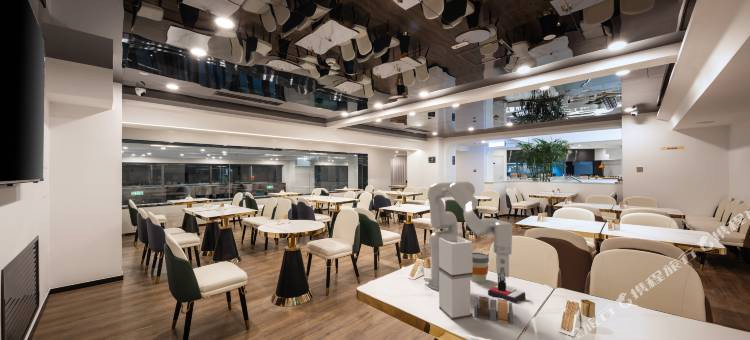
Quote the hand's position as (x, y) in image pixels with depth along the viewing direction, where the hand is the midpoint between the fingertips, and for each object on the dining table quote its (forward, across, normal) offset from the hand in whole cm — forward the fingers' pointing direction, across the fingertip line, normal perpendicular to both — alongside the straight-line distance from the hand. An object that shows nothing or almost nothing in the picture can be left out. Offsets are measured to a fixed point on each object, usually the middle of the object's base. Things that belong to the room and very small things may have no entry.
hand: (501, 286), depth 134 cm
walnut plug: (+14, -1, +7) cm, 16 cm away
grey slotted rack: (+15, -1, +3) cm, 15 cm away
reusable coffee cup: (+16, +43, +12) cm, 48 cm away
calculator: (+16, +25, -3) cm, 29 cm away
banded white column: (+15, -4, +20) cm, 25 cm away
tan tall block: (+14, 0, -1) cm, 14 cm away
